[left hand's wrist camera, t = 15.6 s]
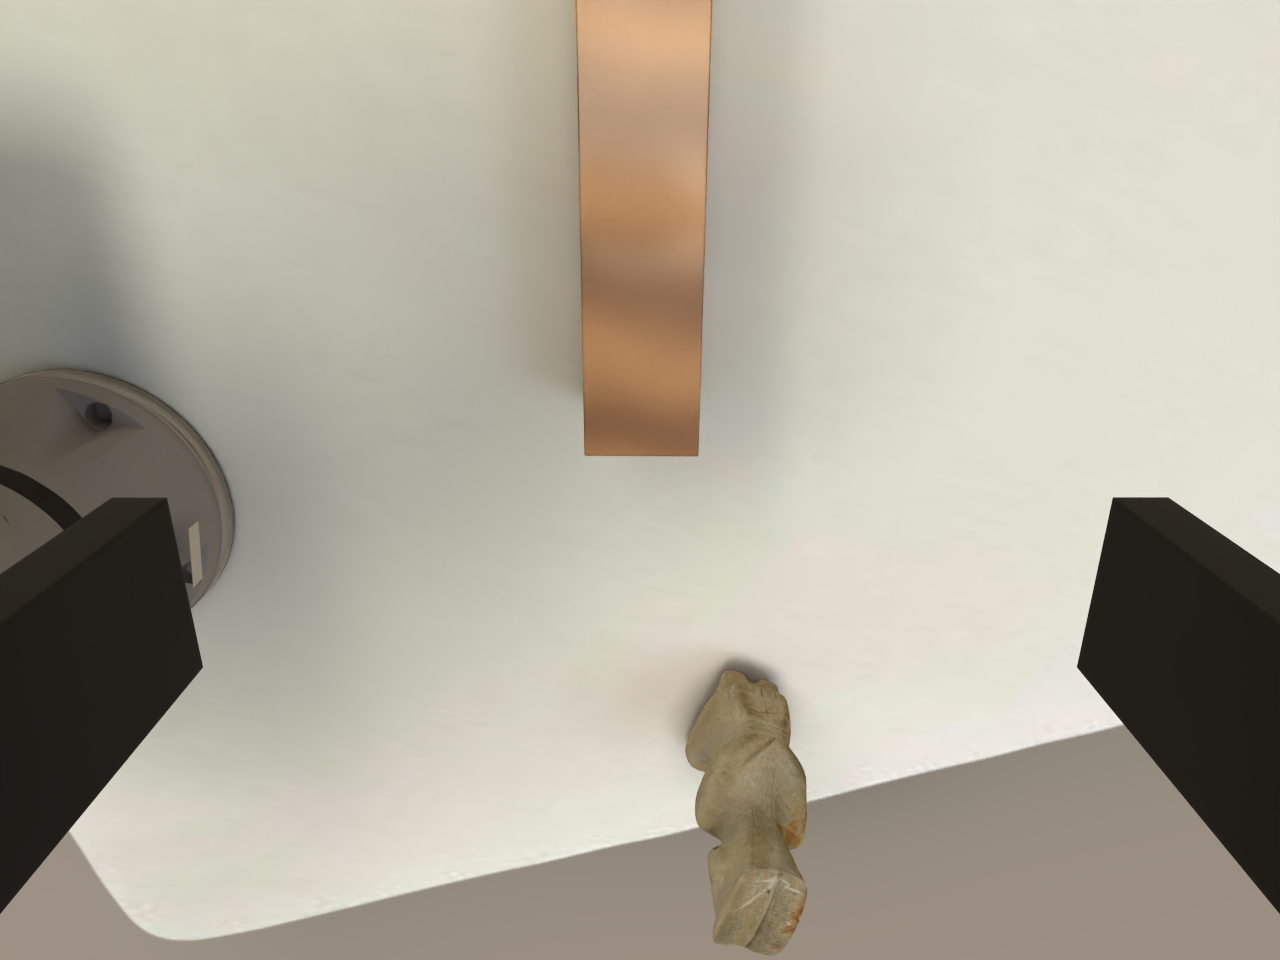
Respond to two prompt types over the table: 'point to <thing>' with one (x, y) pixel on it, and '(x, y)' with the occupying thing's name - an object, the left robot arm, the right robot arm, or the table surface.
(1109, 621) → the left robot arm
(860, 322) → the table surface
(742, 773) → the sculpture
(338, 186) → the table surface
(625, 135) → the bar
